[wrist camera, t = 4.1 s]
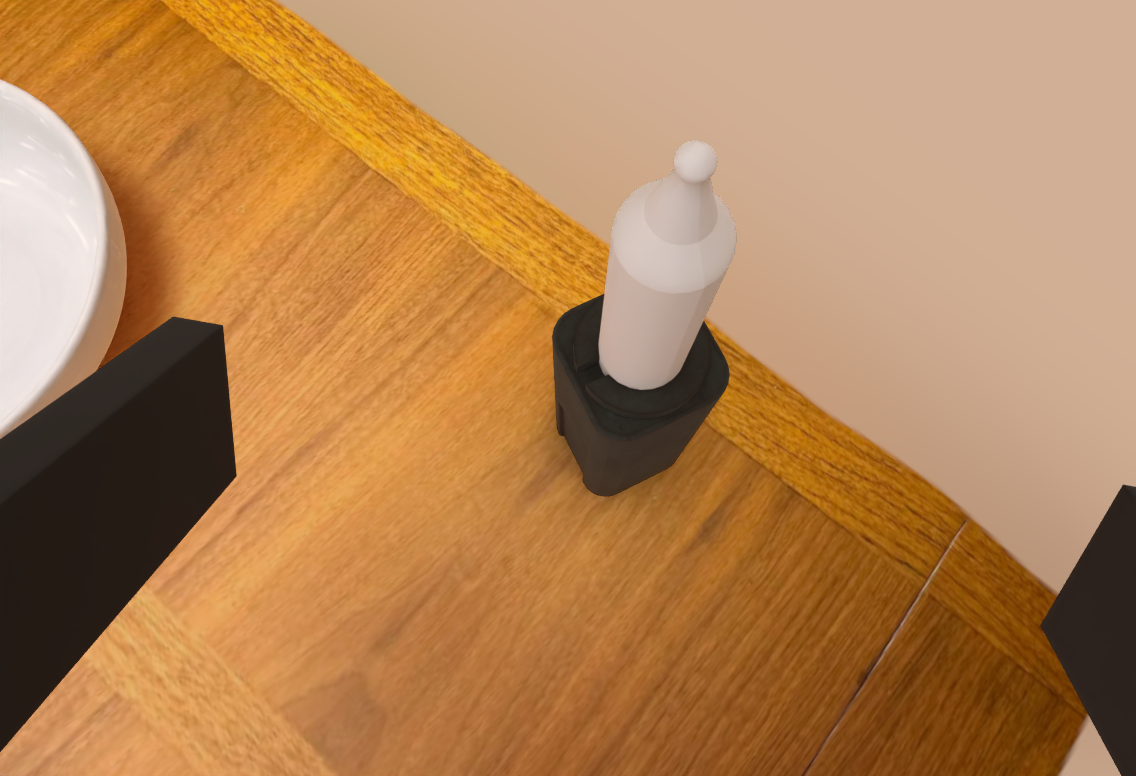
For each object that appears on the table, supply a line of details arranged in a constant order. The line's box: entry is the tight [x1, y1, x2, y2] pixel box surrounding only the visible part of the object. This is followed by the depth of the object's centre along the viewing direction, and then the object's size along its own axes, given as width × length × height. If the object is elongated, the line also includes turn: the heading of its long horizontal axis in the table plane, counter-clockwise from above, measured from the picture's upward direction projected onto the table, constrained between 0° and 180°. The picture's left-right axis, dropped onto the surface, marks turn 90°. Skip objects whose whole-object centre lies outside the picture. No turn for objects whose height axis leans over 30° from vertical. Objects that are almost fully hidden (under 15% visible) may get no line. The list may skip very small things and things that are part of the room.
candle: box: [552, 140, 737, 496], centre depth 27 cm, size 5×5×25 cm
